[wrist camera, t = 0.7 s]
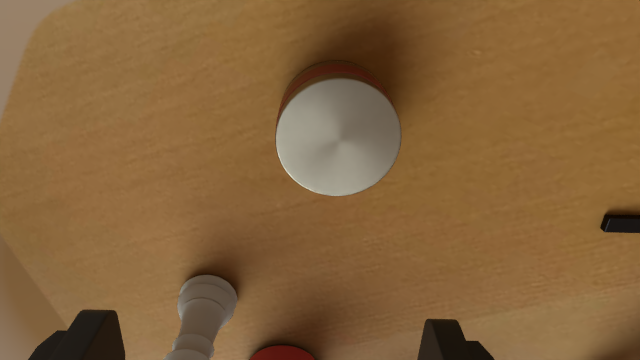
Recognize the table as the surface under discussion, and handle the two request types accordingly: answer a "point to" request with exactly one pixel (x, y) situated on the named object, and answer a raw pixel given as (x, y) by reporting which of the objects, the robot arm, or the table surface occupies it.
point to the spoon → (621, 223)
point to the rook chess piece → (202, 316)
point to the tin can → (337, 129)
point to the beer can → (282, 353)
